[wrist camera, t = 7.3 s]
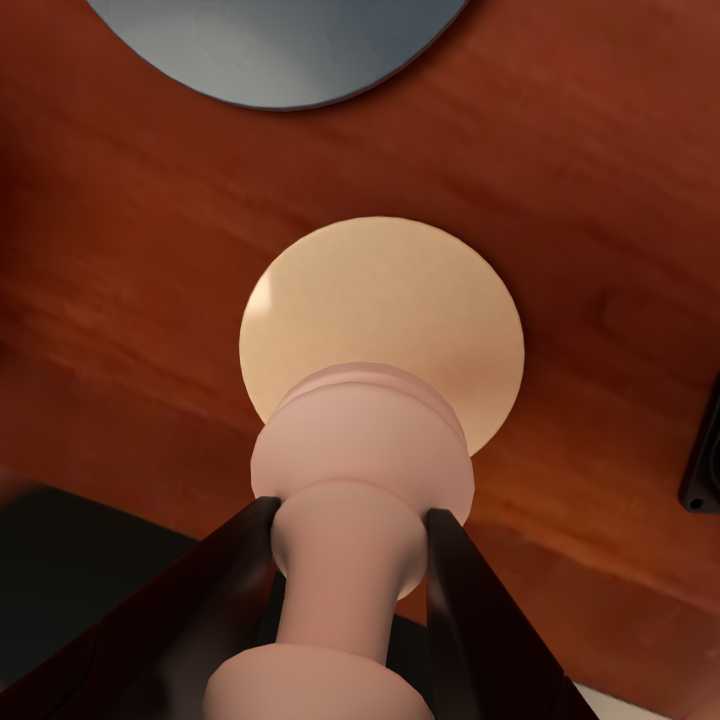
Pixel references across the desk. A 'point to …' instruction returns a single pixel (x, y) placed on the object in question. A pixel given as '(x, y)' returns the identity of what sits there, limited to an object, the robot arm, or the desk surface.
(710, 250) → the desk surface
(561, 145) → the desk surface
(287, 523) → the chess pawn
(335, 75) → the lid
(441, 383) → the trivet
